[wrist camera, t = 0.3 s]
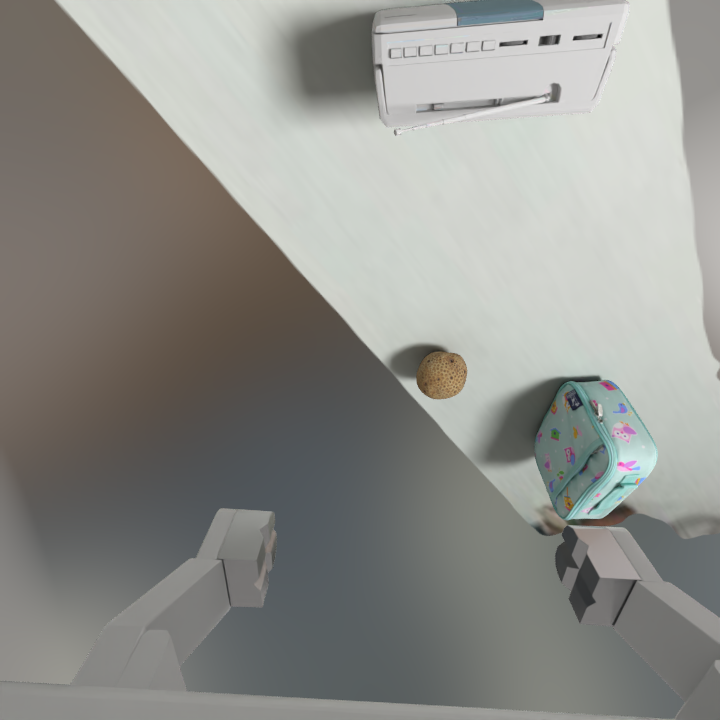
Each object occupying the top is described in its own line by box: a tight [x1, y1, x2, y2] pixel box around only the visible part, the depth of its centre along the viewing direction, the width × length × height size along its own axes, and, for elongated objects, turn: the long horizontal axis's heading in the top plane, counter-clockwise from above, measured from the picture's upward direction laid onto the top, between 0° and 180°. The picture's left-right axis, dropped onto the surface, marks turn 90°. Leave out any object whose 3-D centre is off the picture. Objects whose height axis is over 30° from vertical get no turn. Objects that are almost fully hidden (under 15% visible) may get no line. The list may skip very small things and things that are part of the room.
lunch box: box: [534, 380, 658, 520], centre depth 79 cm, size 27×10×21 cm, turn 0°
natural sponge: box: [416, 351, 467, 399], centre depth 73 cm, size 9×9×10 cm
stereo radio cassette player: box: [372, 0, 629, 136], centre depth 37 cm, size 21×8×20 cm, turn 94°
